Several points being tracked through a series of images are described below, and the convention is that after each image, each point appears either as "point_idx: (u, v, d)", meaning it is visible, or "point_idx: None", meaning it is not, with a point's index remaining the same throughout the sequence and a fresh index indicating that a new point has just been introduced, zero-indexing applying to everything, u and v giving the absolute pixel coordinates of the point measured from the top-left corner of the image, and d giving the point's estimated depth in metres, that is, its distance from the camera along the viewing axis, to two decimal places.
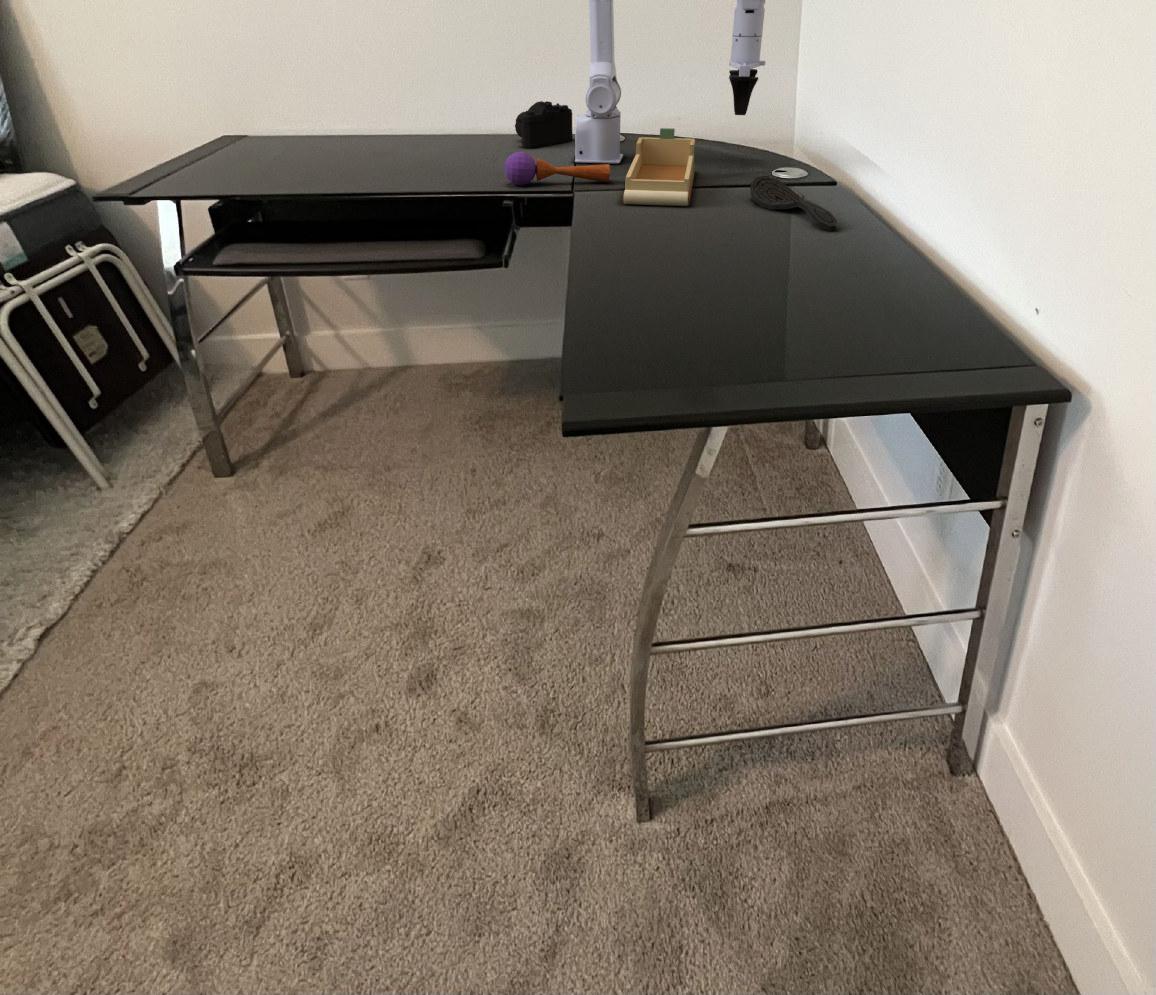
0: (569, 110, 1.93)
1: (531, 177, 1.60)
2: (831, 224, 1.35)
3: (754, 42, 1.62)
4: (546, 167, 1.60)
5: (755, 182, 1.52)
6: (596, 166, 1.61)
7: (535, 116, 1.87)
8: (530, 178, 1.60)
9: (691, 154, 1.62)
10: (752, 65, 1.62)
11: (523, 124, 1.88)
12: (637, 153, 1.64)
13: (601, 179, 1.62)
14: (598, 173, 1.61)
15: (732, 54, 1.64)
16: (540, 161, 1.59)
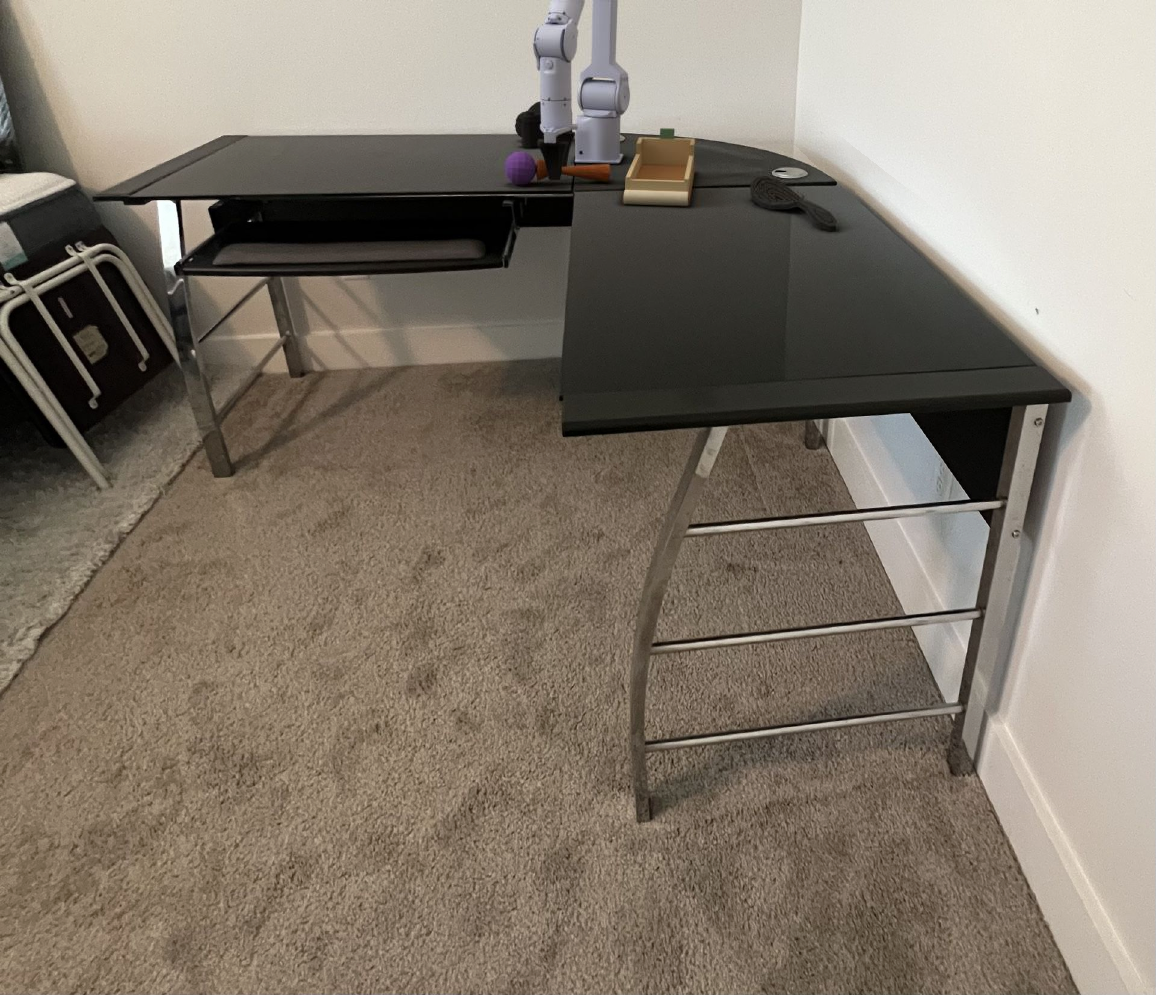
0: None
1: (531, 177, 1.60)
2: (831, 224, 1.35)
3: (561, 106, 1.53)
4: None
5: (755, 182, 1.52)
6: (596, 166, 1.61)
7: (535, 116, 1.87)
8: (530, 178, 1.60)
9: (691, 154, 1.62)
10: (559, 130, 1.53)
11: (523, 124, 1.88)
12: (637, 153, 1.64)
13: (601, 179, 1.62)
14: (598, 173, 1.61)
15: (541, 118, 1.55)
16: (540, 161, 1.59)
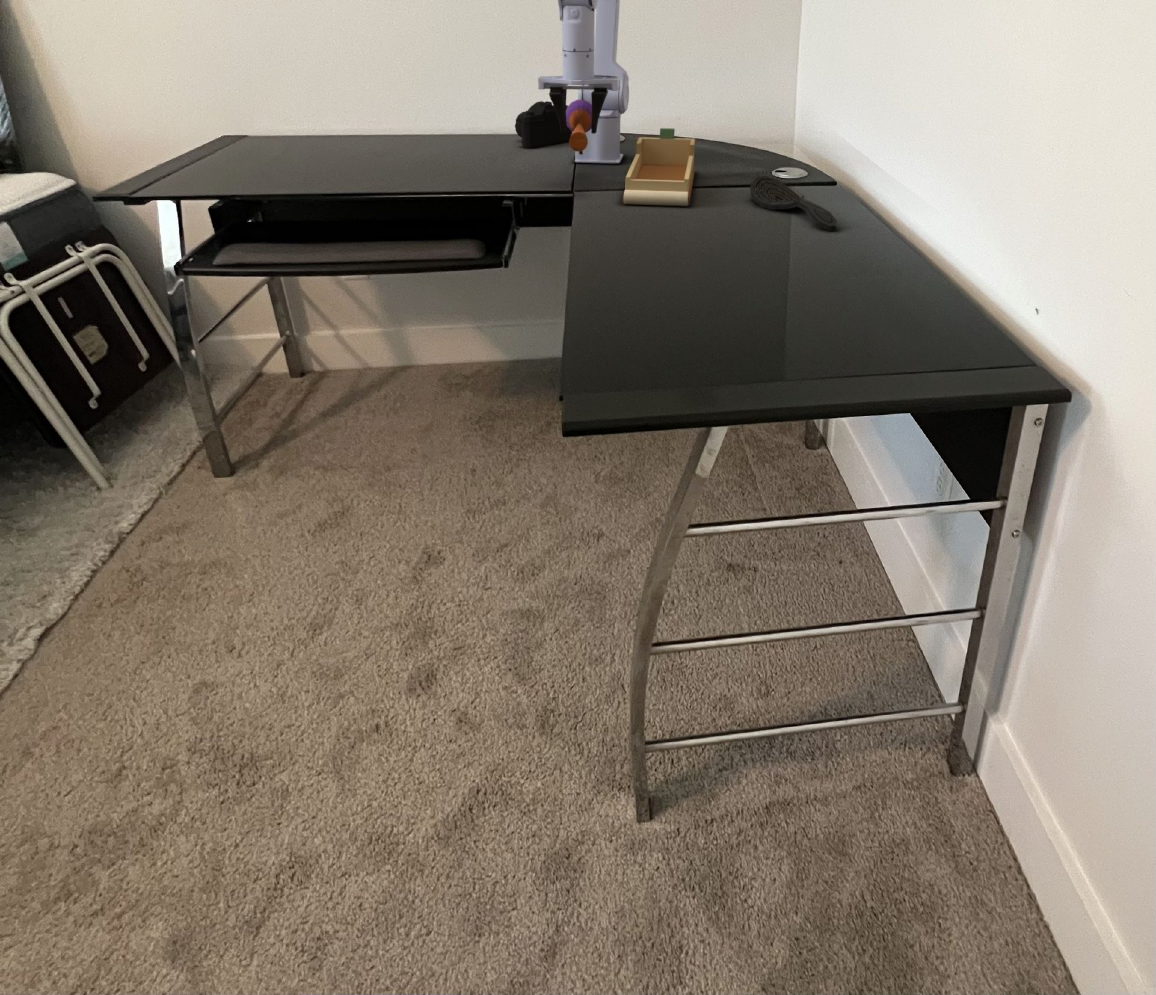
0: None
1: None
2: (831, 224, 1.35)
3: (563, 56, 1.49)
4: (573, 119, 1.58)
5: (755, 182, 1.52)
6: (575, 130, 1.50)
7: (535, 116, 1.87)
8: (570, 126, 1.62)
9: (691, 154, 1.62)
10: (550, 79, 1.52)
11: (523, 124, 1.88)
12: (637, 153, 1.64)
13: None
14: None
15: None
16: (575, 112, 1.58)
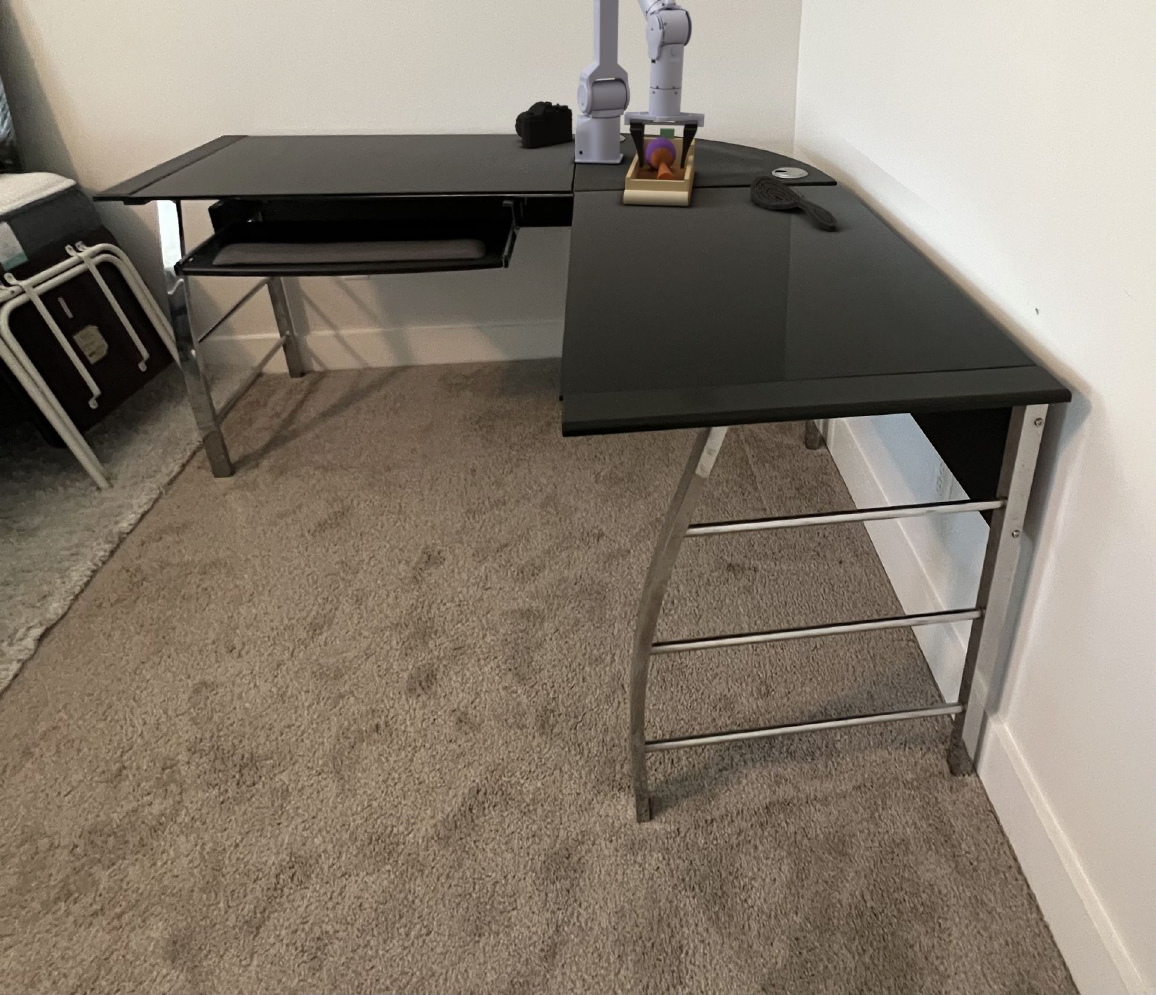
0: (569, 110, 1.93)
1: (651, 163, 1.63)
2: (831, 224, 1.35)
3: (651, 93, 1.50)
4: (655, 157, 1.60)
5: (755, 182, 1.52)
6: (662, 170, 1.52)
7: (535, 116, 1.87)
8: (650, 163, 1.63)
9: (691, 154, 1.62)
10: (636, 115, 1.53)
11: (523, 124, 1.88)
12: None
13: None
14: None
15: None
16: (657, 150, 1.60)
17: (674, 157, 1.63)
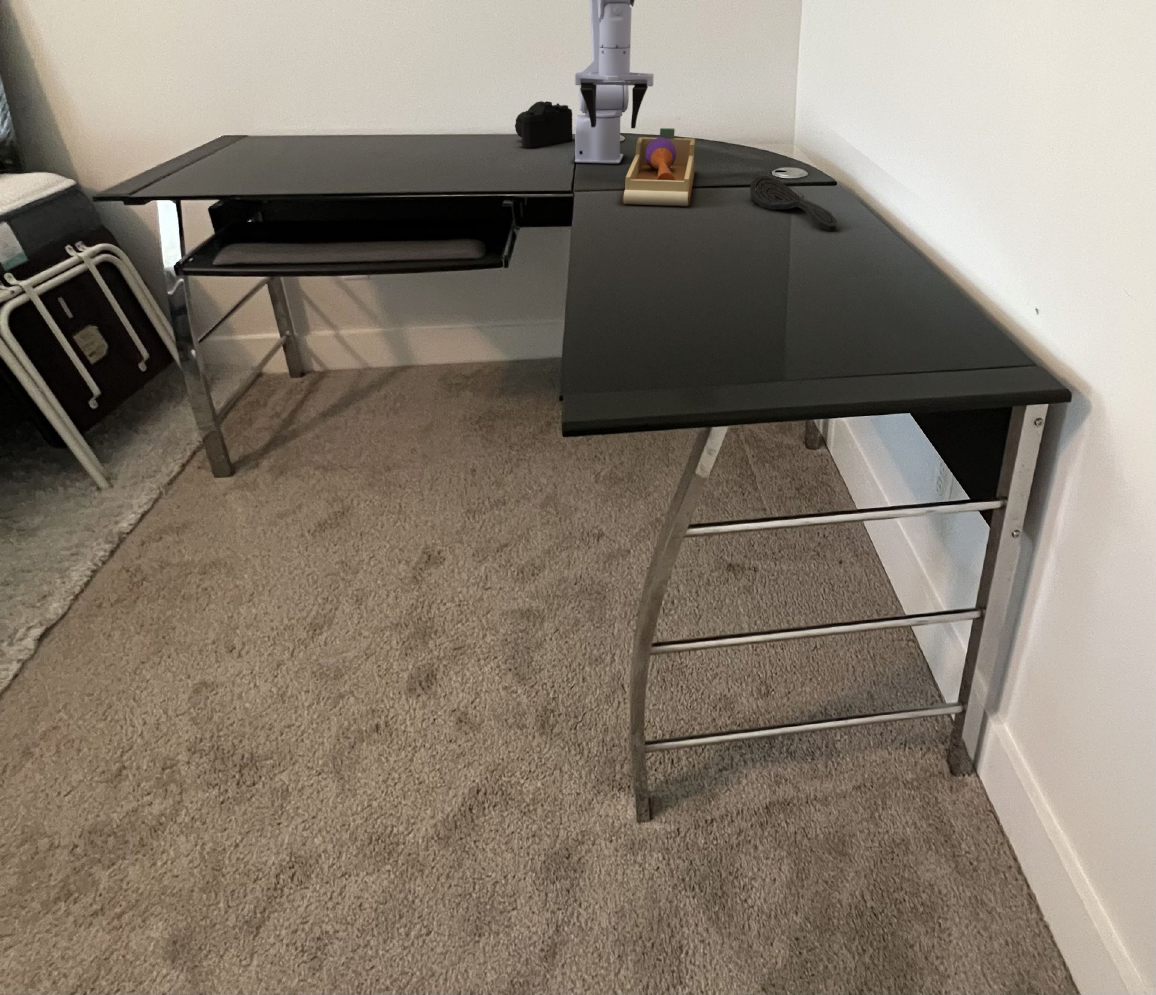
0: (569, 110, 1.93)
1: (651, 163, 1.63)
2: (831, 224, 1.35)
3: (600, 53, 1.53)
4: (655, 157, 1.60)
5: (755, 182, 1.52)
6: (662, 170, 1.51)
7: (535, 116, 1.87)
8: (650, 163, 1.63)
9: (691, 154, 1.62)
10: (586, 75, 1.56)
11: (523, 124, 1.88)
12: (637, 153, 1.64)
13: None
14: None
15: None
16: (657, 150, 1.60)
17: (674, 157, 1.63)
